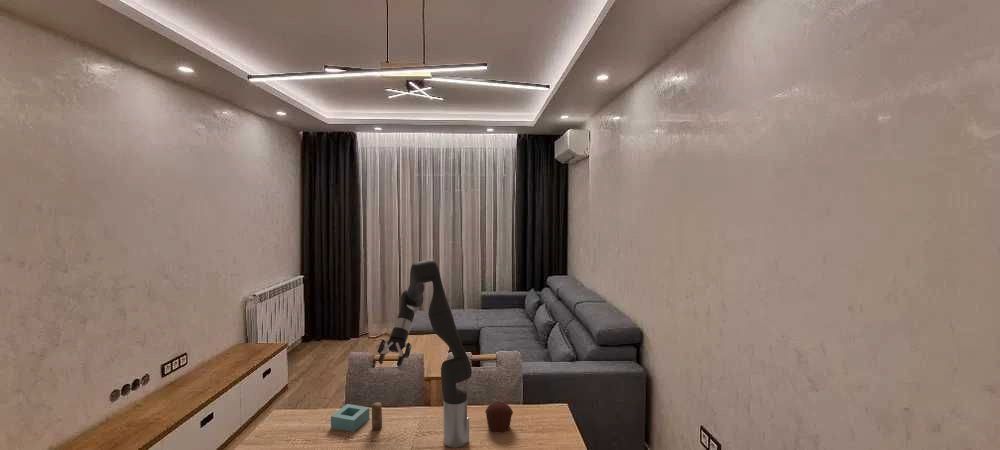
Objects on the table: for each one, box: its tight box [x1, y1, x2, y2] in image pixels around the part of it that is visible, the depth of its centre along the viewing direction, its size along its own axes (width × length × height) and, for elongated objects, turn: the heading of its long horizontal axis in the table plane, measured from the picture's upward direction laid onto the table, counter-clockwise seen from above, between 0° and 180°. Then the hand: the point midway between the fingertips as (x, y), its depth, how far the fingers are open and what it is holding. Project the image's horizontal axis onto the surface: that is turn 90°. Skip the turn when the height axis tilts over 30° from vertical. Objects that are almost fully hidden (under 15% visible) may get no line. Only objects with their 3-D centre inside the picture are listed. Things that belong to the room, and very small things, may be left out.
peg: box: [371, 402, 383, 432], centre depth 182 cm, size 4×4×10 cm
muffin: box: [484, 401, 514, 433], centre depth 183 cm, size 12×11×10 cm
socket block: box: [330, 403, 370, 433], centre depth 186 cm, size 11×11×5 cm
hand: (389, 364), depth 191 cm, fingers open, 8 cm apart
